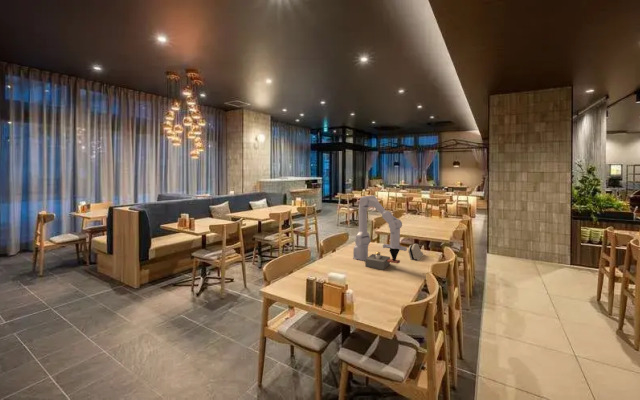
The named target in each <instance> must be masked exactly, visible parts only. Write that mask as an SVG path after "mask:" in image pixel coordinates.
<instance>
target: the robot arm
mask: <svg viewBox="0 0 640 400" xmlns="http://www.w3.org/2000/svg"><path fill="white" fill-rule="evenodd" d="M370 207H373V208H374V209H375V210H376V211H377V212H379V213H380V215H381V218H382V219H383V220H384V221H385V222H386V223H387V224H388V229H389V232H390V233H389V236H390V237H389V238H390V239H389V244H386V243H383V244H382V248H383V249H389V250H388V251H389V253H390V255H391V259H393V261H396V260H397V256H398V254H399V252H400V251H404V252H407V251H408V248H407V247H408V246H402V245H400V242H401V241H400V240H401V228H402V226H403V222H402V221H401V219H398V218H397V217H396V216H394V215H393V214H392V212H391V211H389V210H386V209H385V208H384V207H383V205H382V204H381V203H380V202H379V200H378V198H377V197H376V196H375V195H363V196H361V197H360V198H359V204H358V232H357V234H356V235H355V240H354V242H355V245H353V253H352V254H353V256H352V257H353V258H352V259H354V260H359V261H363V262H364V261H365V259H366V258H368V257H369V246H370V245H369V244H370V243H371V238H370V233H369V232H368V214H367V213H368V209H369V208H370Z"/></svg>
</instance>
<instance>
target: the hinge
mask: <svg viewBox="0 0 640 400" xmlns="http://www.w3.org/2000/svg"><path fill="white" fill-rule="evenodd" d="M407 251H408V252H407V253H408V255H409V258H410V260H411V261H412V260H416V261H417V262H419V261H420V259H421V258H423V256H424V252H423V251H422V250H421V248H420V246H419V244H418V243H412V244H411V245H409V246H408V248H407Z"/></svg>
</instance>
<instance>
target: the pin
mask: <svg viewBox="0 0 640 400" xmlns="http://www.w3.org/2000/svg"><path fill="white" fill-rule="evenodd" d="M375 255H376V256H375V259H380V255H381V252H380V251H376V252H375Z"/></svg>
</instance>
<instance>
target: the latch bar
mask: <svg viewBox="0 0 640 400" xmlns="http://www.w3.org/2000/svg"><path fill="white" fill-rule="evenodd" d="M387 262H390V264H391V263H393V264H397V265H398V264H400V262H401V260H400V259H396V261H393V259H392V258H390V259H388V260H387Z"/></svg>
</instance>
